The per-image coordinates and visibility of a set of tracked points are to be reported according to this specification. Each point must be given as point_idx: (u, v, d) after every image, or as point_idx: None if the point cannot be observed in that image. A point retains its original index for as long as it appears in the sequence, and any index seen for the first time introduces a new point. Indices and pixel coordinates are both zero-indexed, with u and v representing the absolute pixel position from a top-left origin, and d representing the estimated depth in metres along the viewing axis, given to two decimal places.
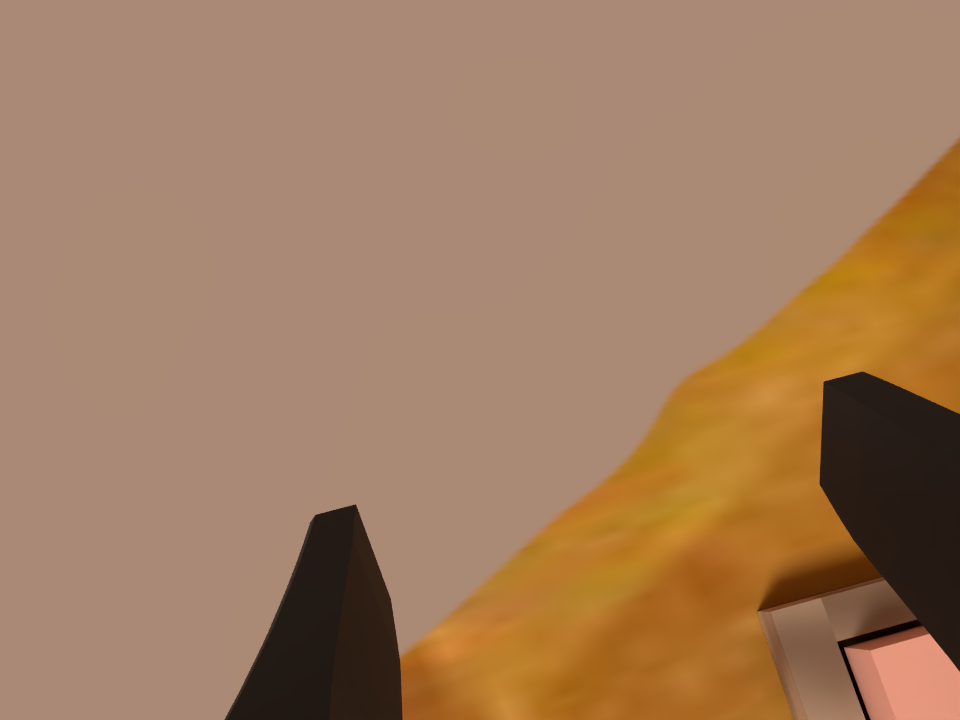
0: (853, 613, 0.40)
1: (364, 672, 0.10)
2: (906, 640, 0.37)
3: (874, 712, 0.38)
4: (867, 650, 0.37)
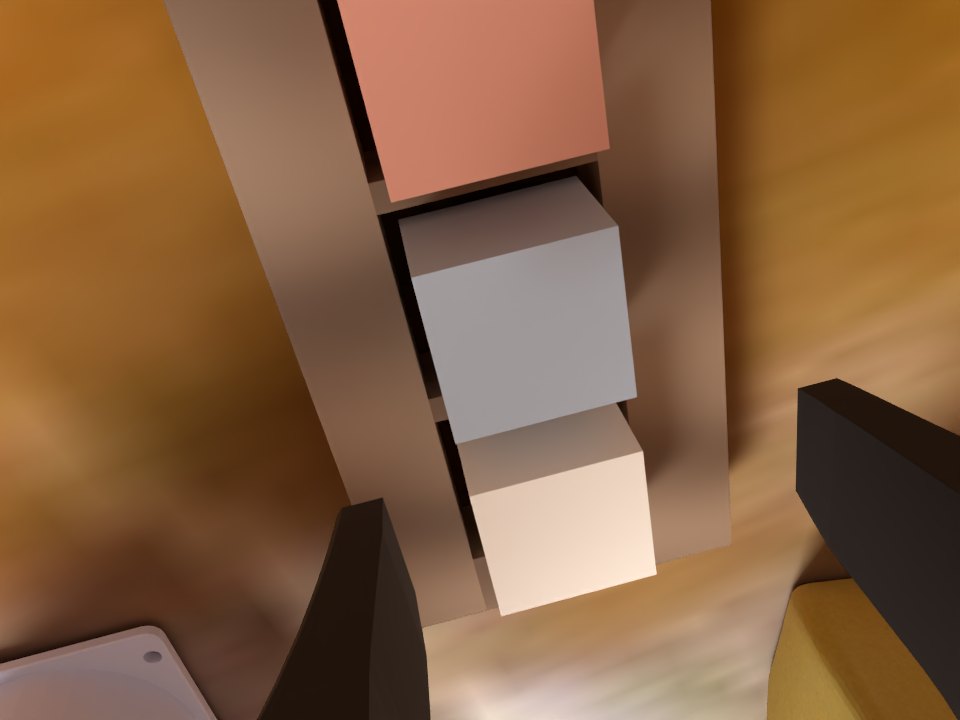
0: None
1: (396, 663, 0.10)
2: None
3: None
4: None
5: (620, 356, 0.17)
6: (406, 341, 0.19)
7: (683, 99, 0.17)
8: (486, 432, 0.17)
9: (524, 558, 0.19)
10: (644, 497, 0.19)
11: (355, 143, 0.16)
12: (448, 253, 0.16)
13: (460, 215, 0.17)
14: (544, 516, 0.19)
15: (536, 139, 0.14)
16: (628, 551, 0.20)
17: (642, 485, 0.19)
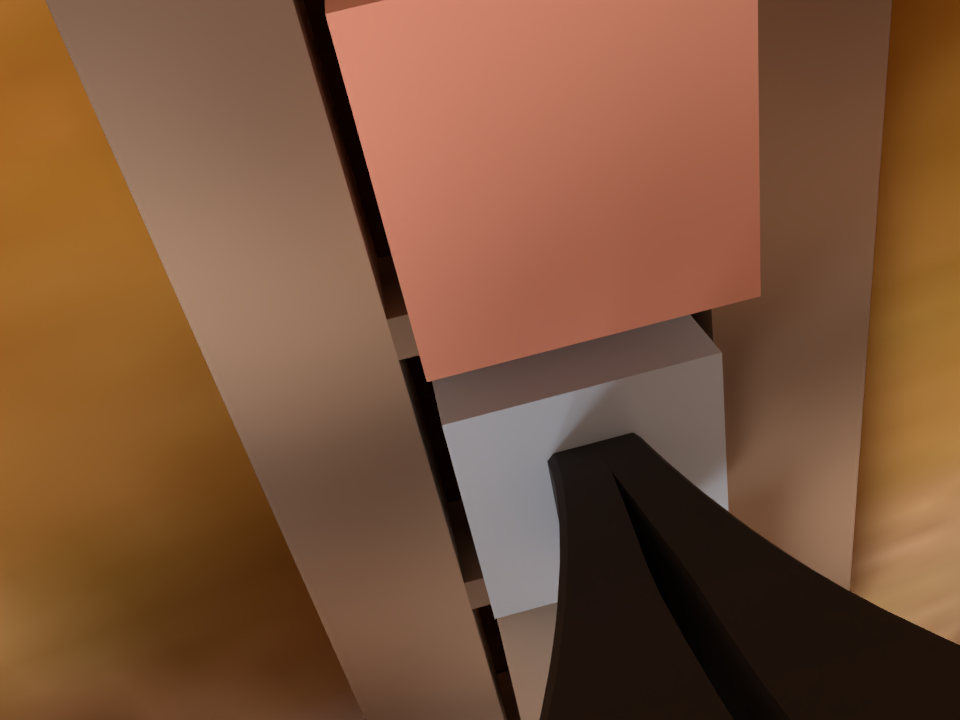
0: None
1: None
2: None
3: None
4: (328, 10, 0.08)
5: None
6: (437, 515, 0.14)
7: (835, 197, 0.12)
8: (535, 603, 0.13)
9: None
10: None
11: (369, 266, 0.11)
12: (491, 385, 0.12)
13: None
14: None
15: (652, 287, 0.09)
16: None
17: None
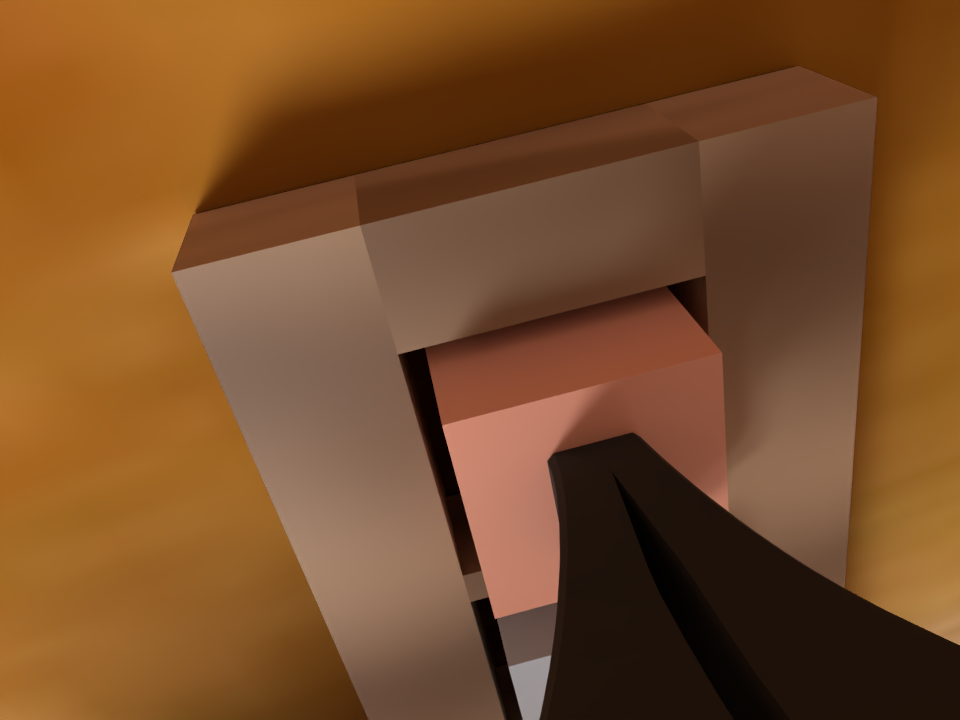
0: (465, 274, 0.12)
1: None
2: (566, 390, 0.11)
3: None
4: (441, 411, 0.11)
5: None
6: (495, 705, 0.17)
7: (818, 475, 0.15)
8: None
9: None
10: None
11: (451, 543, 0.14)
12: (543, 625, 0.15)
13: None
14: None
15: None
16: None
17: None
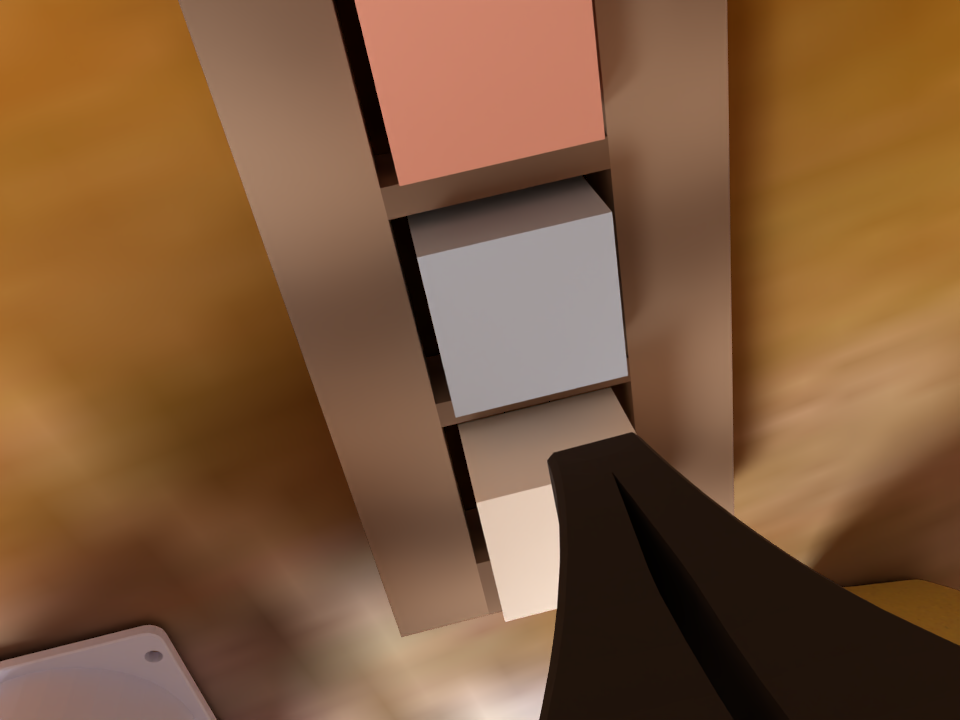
0: None
1: None
2: None
3: None
4: None
5: (612, 336, 0.18)
6: (415, 345, 0.19)
7: (697, 108, 0.17)
8: (485, 406, 0.18)
9: (529, 564, 0.19)
10: None
11: (368, 148, 0.16)
12: (452, 235, 0.17)
13: None
14: (550, 524, 0.19)
15: (536, 129, 0.15)
16: None
17: None
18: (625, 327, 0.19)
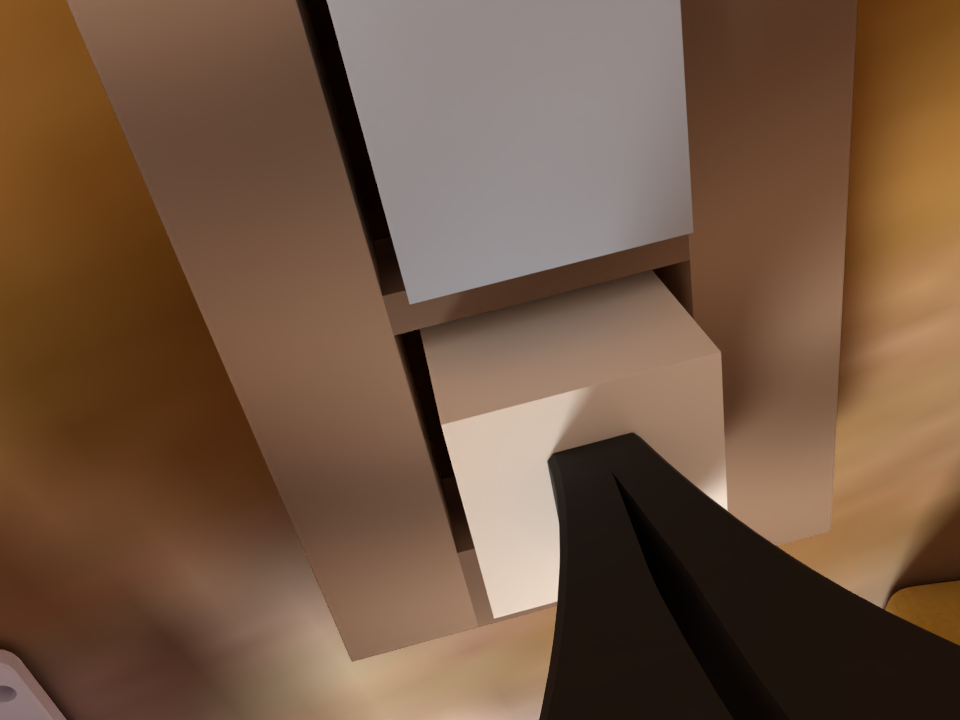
0: None
1: None
2: None
3: None
4: None
5: (670, 158, 0.11)
6: (343, 192, 0.11)
7: None
8: (458, 285, 0.11)
9: (529, 527, 0.12)
10: (718, 431, 0.12)
11: None
12: None
13: None
14: None
15: None
16: None
17: (716, 411, 0.12)
18: None
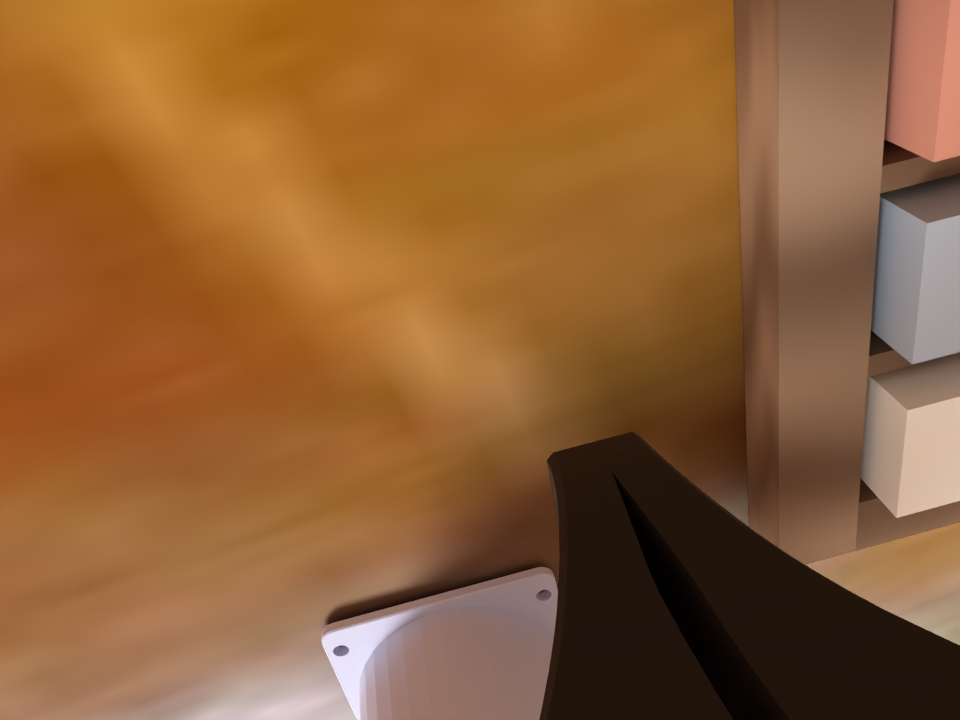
0: None
1: None
2: None
3: None
4: None
5: None
6: (868, 304, 0.22)
7: None
8: (938, 354, 0.21)
9: (930, 465, 0.23)
10: None
11: (884, 131, 0.19)
12: (941, 205, 0.20)
13: None
14: (956, 429, 0.23)
15: None
16: None
17: None
18: None
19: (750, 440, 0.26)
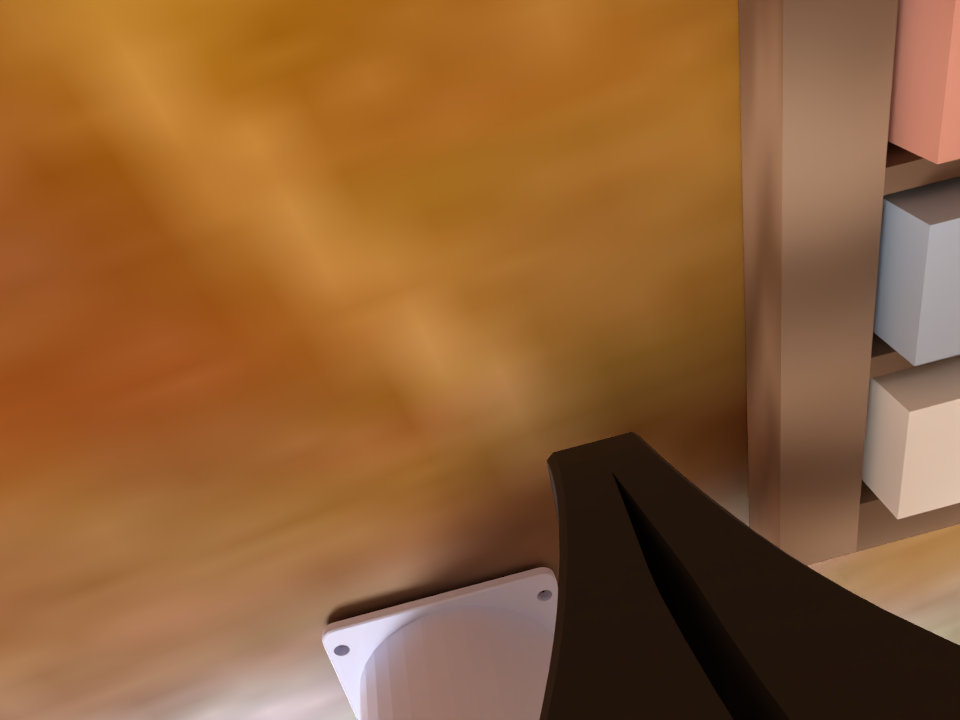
0: None
1: None
2: None
3: None
4: None
5: None
6: (870, 305, 0.22)
7: None
8: (940, 356, 0.21)
9: (931, 467, 0.23)
10: None
11: (887, 133, 0.19)
12: (944, 207, 0.20)
13: None
14: (957, 431, 0.23)
15: None
16: None
17: None
18: None
19: (752, 441, 0.26)
